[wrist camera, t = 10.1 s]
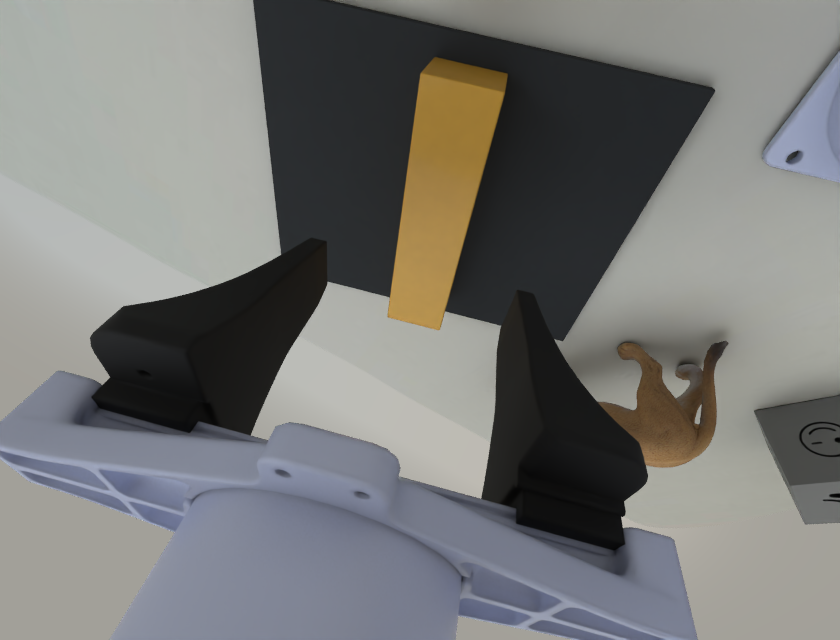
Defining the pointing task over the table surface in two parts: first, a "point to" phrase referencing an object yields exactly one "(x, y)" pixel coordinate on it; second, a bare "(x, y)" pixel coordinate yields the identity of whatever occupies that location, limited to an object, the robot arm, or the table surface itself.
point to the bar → (442, 184)
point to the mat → (505, 166)
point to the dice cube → (807, 454)
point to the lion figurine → (670, 409)
